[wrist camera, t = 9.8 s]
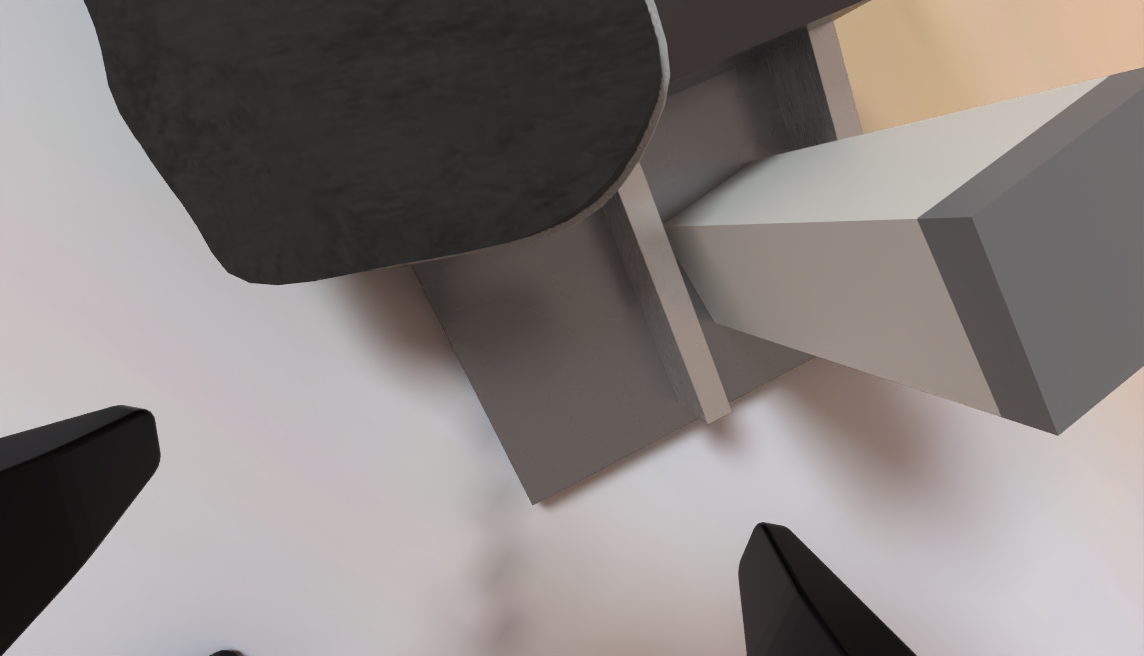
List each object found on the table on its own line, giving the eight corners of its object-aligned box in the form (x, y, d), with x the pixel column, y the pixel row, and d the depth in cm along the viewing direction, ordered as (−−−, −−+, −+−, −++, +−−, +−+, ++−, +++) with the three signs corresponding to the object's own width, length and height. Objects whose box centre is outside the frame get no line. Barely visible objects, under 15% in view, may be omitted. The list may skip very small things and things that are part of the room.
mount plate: (850, 325, 24) (977, 354, 18) (528, 493, 22) (558, 585, 16) (756, 2, 21) (876, -89, 15) (362, 162, 18) (325, 130, 13)
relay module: (806, 255, 22) (1245, 281, 10) (715, 322, 21) (1058, 435, 9) (757, 158, 21) (1189, 53, 9) (659, 226, 20) (971, 216, 8)
